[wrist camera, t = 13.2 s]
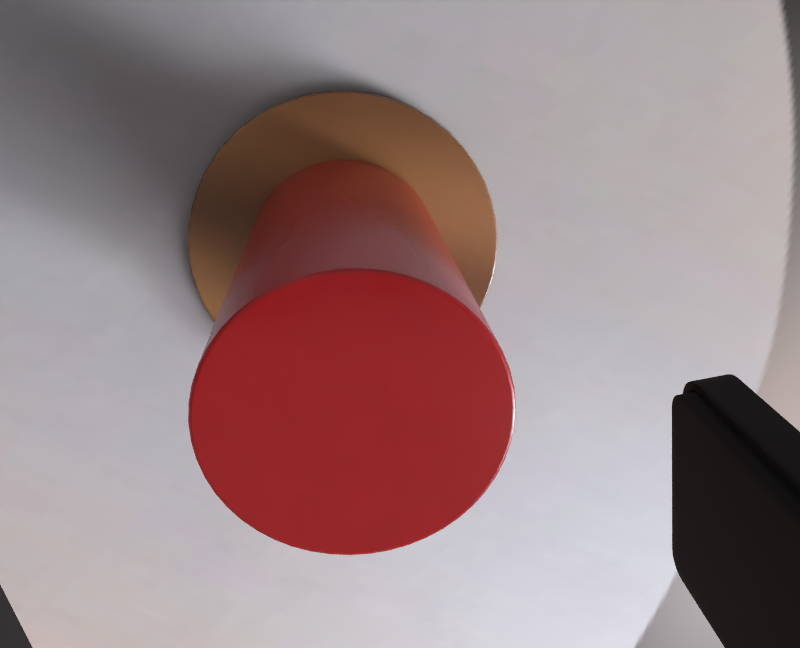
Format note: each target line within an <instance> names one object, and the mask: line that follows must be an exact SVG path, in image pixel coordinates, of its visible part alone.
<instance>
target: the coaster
mask: <svg viewBox="0 0 800 648" xmlns="http://www.w3.org/2000/svg"><path fill="white" fill-rule="evenodd" d="M333 160H354V161H362V162H366V163H370V164H374V165H376V166H379V167H381V168H384V169H386V170H388V171H390V172H391V173H393V174H395V175H397V176H398V177H399V178H401V179H402V180H403V181H405V182H406V183H407V184H408V185H409V186H410V187H411V188H412V189H413V190H414V191H415V192H416V193H417V195H418V196H419V197H420V199H421V200H422V201H423V203H424V205H425V206H426V208H427V210H428V212H429V214H430V215H431V217H432V219H433V221H434V223H435V225H436V227H437V229H438V231H439V232H440V234H441V236H442V238H443V240H444V242H445V244H446V246H447V247H448V249H449V251H450V253H451V255H452V257H453V259H454V261H455V263H456V264H457V266H458V268H459V270H460V272H461V274H462V276H463V278H464V280H465V281H466V283H467V285H468V287H469V289H470V291H471V293H472V295H473V296H474V298H475V300H476V302H477V304H478V306H479V308H481V305H482V303H483V301H484V299H485V297H486V295H487V292H488V289H489V286H490V283H491V280H492V277H493V272H494V267H495V261H496V251H497V231H496V219H495V214H494V210H493V206H492V201H491V198H490V195H489V193H488V190H487V187H486V185H485V182H484V180H483V178H482V176H481V174H480V172H479V170H478V169H477V167H476V165H475V163H474V162H473V160H472V159H471V158H470V156H469V155H468V153H467V152H466V151H465V149H464V148H463V147H462V146H461V145H460V144H459V143H458V141H457V140H456V139H455V138H454V137H453V136H452V135H451V134H450V133H449V132H448V131H447V130H445V129H444V128H443V127H442V126H440V125H439V124H438V123H437V122H435V121H434V120H433V119H431V118H430V117H428V116H427V115H425V114H423V113H422V112H420V111H418V110H416V109H415V108H413V107H411V106H409V105H406V104H404V103H401V102H399V101H397V100H394V99H391V98H387V97H384V96H380V95H376V94H372V93H365V92H357V91H326V92H319V93H313V94H307V95H304V96H300V97H297V98H293V99H290V100H287V101H285V102H282V103H280V104H278V105H276V106H274V107H271V108H269V109H267V110H266V111H264V112H262V113H261V114H259V115H258V116H256V117H255V118H253V119H251V120H250V121H249V122H247V123H246V124H245V125H244V126H243V127H242V128H240V129H239V130H238V131H237V132H236V133H235V134H233V135H232V137H231V138H230V139H229V140H228V141H227V142H226V143H225V144H224V146H223V147H222V148H221V149H220V150H219V151H218V153H217V154H216V156H215V157H214V159H213V160H212V162H211V163H210V165H209V166H208V168H207V170H206V172H205V174H204V176H203V178H202V180H201V182H200V185H199V187H198V189H197V193H196V196H195V199H194V202H193V206H192V210H191V217H190V223H189V255H190V263H191V269H192V273H193V276H194V280H195V284H196V287H197V289H198V292H199V294H200V297H201V299H202V301H203V304H204V306H205V307H206V309H207V311H208V312H209V314H210V316H211V318H212V319H213V321H214V322H216V319H217V317H218V314H219V312H220V309H221V307H222V304H223V302H224V299H225V297H226V294H227V292H228V289H229V287H230V284H231V282H232V279H233V277H234V274H235V272H236V269H237V267H238V264H239V262H240V259H241V257H242V254H243V252H244V249H245V247H246V244H247V242H248V239H249V237H250V234H251V232H252V229H253V227H254V224H255V222H256V219H257V217H258V214H259V212H260V210H261V208H262V206H263V205H264V203H265V202H266V200H267V199H268V197H269V196H270V194H271V193H272V192H273V191H274V190H275V189H276V188H277V187H278V186H279V185H280V184H281V183H282V182H283V181H285V180H286V179H287V178H288V177H290V176H292V175H293V174H295V173H296V172H298V171H300V170H302V169H304V168H306V167H309V166H311V165H315V164H318V163H321V162H326V161H333Z"/></svg>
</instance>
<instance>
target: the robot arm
mask: <svg viewBox="0 0 800 648" xmlns="http://www.w3.org/2000/svg"><path fill="white" fill-rule="evenodd" d="M672 550H673V558H674V562H675V565H676V568H677V571H678V573H679V576H680V577H681V579H682V581H683V582H684V584H685V586H686V587H687V589H688V590H689V592H690V594H691V595H692V597H693V598H694V600H695V601H696V603H697V604H698V606H699V608H700V609H701V611H702V612H703V614H704V616H705V617H706V619H707V620H708V622H709V623H710V625H711V627H712V628H713V630H714V631H715V633H716V634H717V636H718V638H719V639H720V641H721V642H722V644H723V645H724V647H725V648H800V432H799V431H798V430H797V429H796V428H795V427H793V426H792V425H791V424H790V423H789V422H788V421H787V420H785V419H784V418H783V417H782V416H780V414H779V413H777V412H776V411H775V410H774V409H773V408H772V407H771V406H769V405H768V404H767V403H766V402H765V401H764V400H763V399H761V398H760V397H759V396H758V395H757V394H756V393H754V392H753V391H752V390H751V389H750V388H749V387H748V386H746V385H745V384H744V383H743V382H742V381H741V380H740V379H738V378H737V377H735V376H734V375H722V376H717V377H712V378H707V379H701V380H696V381H691V382H688V383H687V384H686V385H685V388H684V390H683V394H681V395H676V396H675V397H674V399H673V402H672ZM0 648H32V646H31V644H30V642H29V640H28V638H27V636H26V634H25V632H24V630H23V628H22V626H21V625H20V623H19V621H18V619H17V617H16V615H15V613H14V611H13V609H12V607H11V605H10V603H9V601H8V599H7V597H6V595H5V593H4V591H3V589H2V587H1V585H0Z"/></svg>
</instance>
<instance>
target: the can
mask: <svg viewBox="0 0 800 648" xmlns="http://www.w3.org/2000/svg"><path fill="white" fill-rule="evenodd" d="M515 408H516V404H515V392H514V385H513V381H512V376H511V372H510V368H509V366H508V363H507V361H506V359H505V356H504V354H503V351H502V349H501V347H500V345H499V344H498V342H497V340H496V338H495V336H494V334H493V332H492V330H491V329H490V327H489V325H488V323H487V321H486V319H485V317H484V315H483V313H482V312H481V310H480V308H479V306H478V304H477V302H476V300H475V298H474V296H473V295H472V293H471V291H470V289H469V287H468V285H467V283H466V281H465V280H464V278H463V276H462V274H461V272H460V270H459V268H458V266H457V264H456V263H455V261H454V259H453V257H452V255H451V253H450V251H449V249H448V247H447V246H446V244H445V242H444V240H443V238H442V236H441V234H440V232H439V231H438V229H437V227H436V225H435V223H434V221H433V219H432V217H431V215H430V214H429V212H428V210H427V208H426V206H425V205H424V203H423V201H422V200H421V199H420V197H419V196H418V195H417V193H416V192H415V191H414V190H413V189H412V188H411V187H410V186H409V185H408V184H407V183H406V182H405V181H403V180H402V179H401V178H399V177H398V176H397V175H395V174H393V173H391V172H390V171H388V170H386V169H384V168H381V167H379V166H376V165H374V164H370V163H366V162H362V161H354V160H333V161H326V162H321V163H318V164H315V165H311V166H309V167H306V168H304V169H302V170H300V171H298V172H296V173H295V174H293V175H292V176H290V177H288V178H287V179H286V180H285V181H283V182H282V183H281V184H280V185H279V186H278V187H277V188H276V189H275V190H274V191H273V192H272V193H271V194H270V196H269V197H268V199H267V200H266V202H265V203H264V205H263V206H262V208H261V210H260V212H259V214H258V217H257V219H256V222H255V224H254V227H253V229H252V232H251V234H250V237H249V239H248V242H247V244H246V247H245V249H244V252H243V254H242V257H241V259H240V262H239V264H238V267H237V269H236V272H235V274H234V277H233V279H232V282H231V284H230V287H229V289H228V292H227V294H226V297H225V299H224V302H223V304H222V307H221V309H220V312H219V314H218V317H217V319H216V322H215V324H214V327H213V329H212V332H211V334H210V337H209V339H208V342H207V344H206V347H205V349H204V352H203V354H202V357H201V359H200V362H199V364H198V367H197V370H196V373H195V376H194V379H193V382H192V386H191V392H190V398H189V416H188V423H189V430H190V437H191V443H192V446H193V449H194V453H195V456H196V459H197V461H198V464H199V466H200V468H201V470H202V472H203V474H204V476H205V478H206V480H207V481H208V483H209V484H210V486H211V487H212V489H213V490H214V492H215V493H216V495H217V496H218V497H219V498H220V499H221V500H222V501H223V503H224V504H225V505H226V506H227V507H228V508H229V509H230V510H231V511H232V512H233V513H235V514H236V515H237V516H238V517H239V518H240V519H241V520H243V521H244V522H246V523H247V524H249V525H250V526H251V527H253V528H254V529H256V530H257V531H259V532H261V533H263V534H265V535H267V536H269V537H271V538H273V539H275V540H277V541H280V542H282V543H285V544H288V545H290V546H293V547H297V548H301V549H304V550H308V551H313V552H320V553H326V554H340V555H356V554H371V553H376V552H382V551H388V550H392V549H396V548H399V547H403V546H406V545H409V544H412V543H414V542H417V541H419V540H422V539H424V538H426V537H428V536H430V535H432V534H434V533H436V532H438V531H440V530H441V529H443V528H445V527H446V526H448V525H449V524H450V523H452V522H453V521H455V520H456V519H458V518H459V517H460V516H461V515H462V514H464V513H465V512H466V511H467V510H468V509H469V508H470V507H472V506H473V505H474V504H475V502H476V501H477V500H478V499H479V498H480V497H481V496H482V495H483V494H484V492H485V491H486V490H487V488H488V487H489V486H490V484H491V483H492V481H493V480H494V478H495V477H496V475H497V473H498V471H499V469H500V467H501V466H502V464H503V462H504V459H505V457H506V454H507V451H508V448H509V446H510V443H511V439H512V434H513V429H514V424H515Z"/></svg>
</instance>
